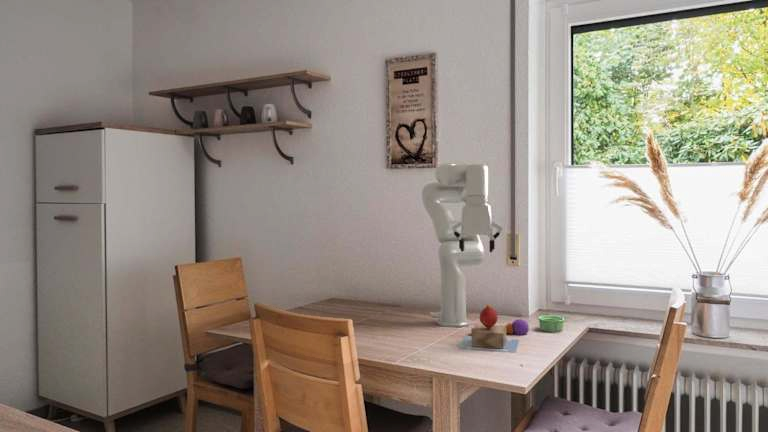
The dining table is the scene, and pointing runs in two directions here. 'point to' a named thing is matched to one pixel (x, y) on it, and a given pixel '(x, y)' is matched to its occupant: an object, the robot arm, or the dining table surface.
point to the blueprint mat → (509, 347)
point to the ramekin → (551, 323)
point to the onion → (488, 317)
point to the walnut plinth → (489, 337)
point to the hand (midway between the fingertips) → (476, 251)
